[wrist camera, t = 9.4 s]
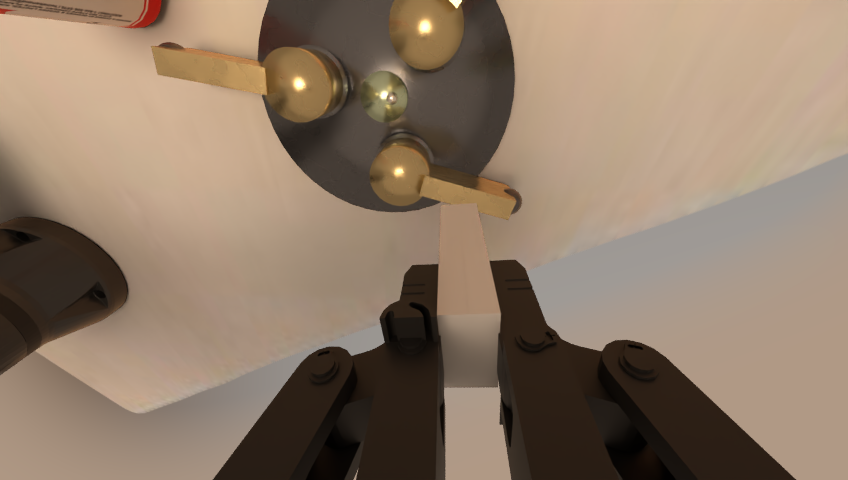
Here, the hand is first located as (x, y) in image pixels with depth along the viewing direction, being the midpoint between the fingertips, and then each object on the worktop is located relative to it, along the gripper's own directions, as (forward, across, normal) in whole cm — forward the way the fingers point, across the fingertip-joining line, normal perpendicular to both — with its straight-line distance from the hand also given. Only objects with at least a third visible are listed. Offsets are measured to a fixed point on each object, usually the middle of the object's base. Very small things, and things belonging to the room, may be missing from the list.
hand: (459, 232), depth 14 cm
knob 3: (+17, -1, -3) cm, 17 cm away
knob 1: (+17, -16, +7) cm, 24 cm away
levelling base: (+19, -6, +4) cm, 20 cm away
